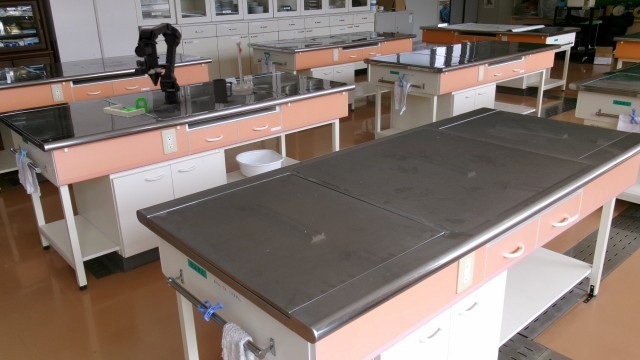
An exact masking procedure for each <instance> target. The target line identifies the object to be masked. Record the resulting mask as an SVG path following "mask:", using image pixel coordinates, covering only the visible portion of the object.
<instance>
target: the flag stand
mask: <svg viewBox="0 0 640 360" xmlns="http://www.w3.org/2000/svg"><path fill="white" fill-rule="evenodd" d="M235 45H236V47H237V57H238V58H237V60H238V72H239V84H237V82H232V95H233V96H249V95H252V93H253V89H254V83H252V82H250V81H249V82H246V83H245V82H244V80H243V79H244V77H243V68H242V56H241V54H242V52H243V49H242V47H241V45H242V41H241V40H239V39H237V40H236V41H235Z"/></svg>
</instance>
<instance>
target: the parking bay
mask: <svg viewBox="0 0 640 360" xmlns="http://www.w3.org/2000/svg"><path fill="white" fill-rule="evenodd" d="M123 109H124V107H123V104H122V103H121V104H116V105H111V106H107V107H103V113H104V114H107V115H112V116H119V117H123V118H132V117H136V116H140V115H143V114H146V113H145V108H141V109H137V110H133V111H129V112H127V111H123Z"/></svg>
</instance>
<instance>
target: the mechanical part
mask: <svg viewBox="0 0 640 360" xmlns="http://www.w3.org/2000/svg"><path fill="white" fill-rule="evenodd" d="M139 102H143V105H141V104H139ZM134 104H135V107H128V108H123V109H122V111H127V112H129V111H133V110H137V109H141V108H145V113H144V114H147V113H148V114H149V105H148V101H147V99H146V98H145V97H143V96H139V97H137V98H136V99H135V103H134Z"/></svg>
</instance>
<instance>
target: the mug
mask: <svg viewBox="0 0 640 360" xmlns="http://www.w3.org/2000/svg"><path fill="white" fill-rule="evenodd" d="M232 84H233V82H232V81H227V79H226V78H215V79H212V89H213V99H214V104H217V103H223V104H227V103H229V98H231V97H232V95H233V91H232ZM227 85H229V87H230V94H229V95H228V87H227Z"/></svg>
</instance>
